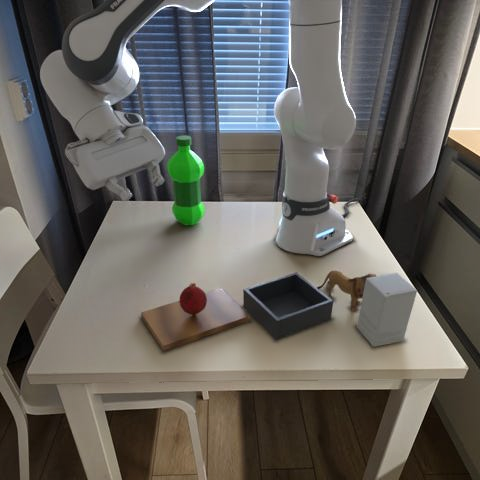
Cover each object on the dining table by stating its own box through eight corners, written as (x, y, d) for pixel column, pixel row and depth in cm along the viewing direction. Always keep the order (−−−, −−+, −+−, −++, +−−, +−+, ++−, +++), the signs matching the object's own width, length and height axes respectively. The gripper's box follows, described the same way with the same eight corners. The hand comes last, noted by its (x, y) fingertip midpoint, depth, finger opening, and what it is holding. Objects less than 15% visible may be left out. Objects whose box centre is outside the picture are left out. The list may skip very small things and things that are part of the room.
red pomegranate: (196, 325, 95) (193, 294, 90) (175, 316, 98) (172, 285, 93) (212, 312, 99) (211, 281, 94) (192, 303, 102) (189, 273, 97)
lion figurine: (377, 305, 104) (385, 272, 98) (368, 317, 100) (376, 283, 95) (320, 285, 110) (325, 253, 105) (310, 295, 107) (314, 262, 102)
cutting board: (220, 292, 108) (220, 287, 107) (248, 321, 99) (248, 316, 98) (141, 317, 100) (140, 312, 99) (163, 351, 91) (163, 345, 90)
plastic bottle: (166, 220, 140) (157, 136, 124) (195, 212, 145) (190, 130, 129) (183, 232, 133) (176, 145, 118) (212, 222, 138) (209, 138, 123)
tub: (294, 289, 109) (296, 271, 106) (330, 319, 100) (333, 300, 97) (243, 307, 103) (243, 288, 100) (275, 340, 94) (277, 321, 91)
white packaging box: (404, 341, 94) (419, 290, 86) (372, 347, 92) (384, 297, 84) (385, 320, 99) (397, 271, 92) (355, 326, 98) (365, 277, 90)
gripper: (65, 135, 80) (113, 200, 82) (144, 112, 94) (184, 168, 95) (55, 156, 85) (100, 217, 87) (132, 131, 98) (170, 184, 100)
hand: (145, 191), depth 91 cm, fingers open, 8 cm apart
